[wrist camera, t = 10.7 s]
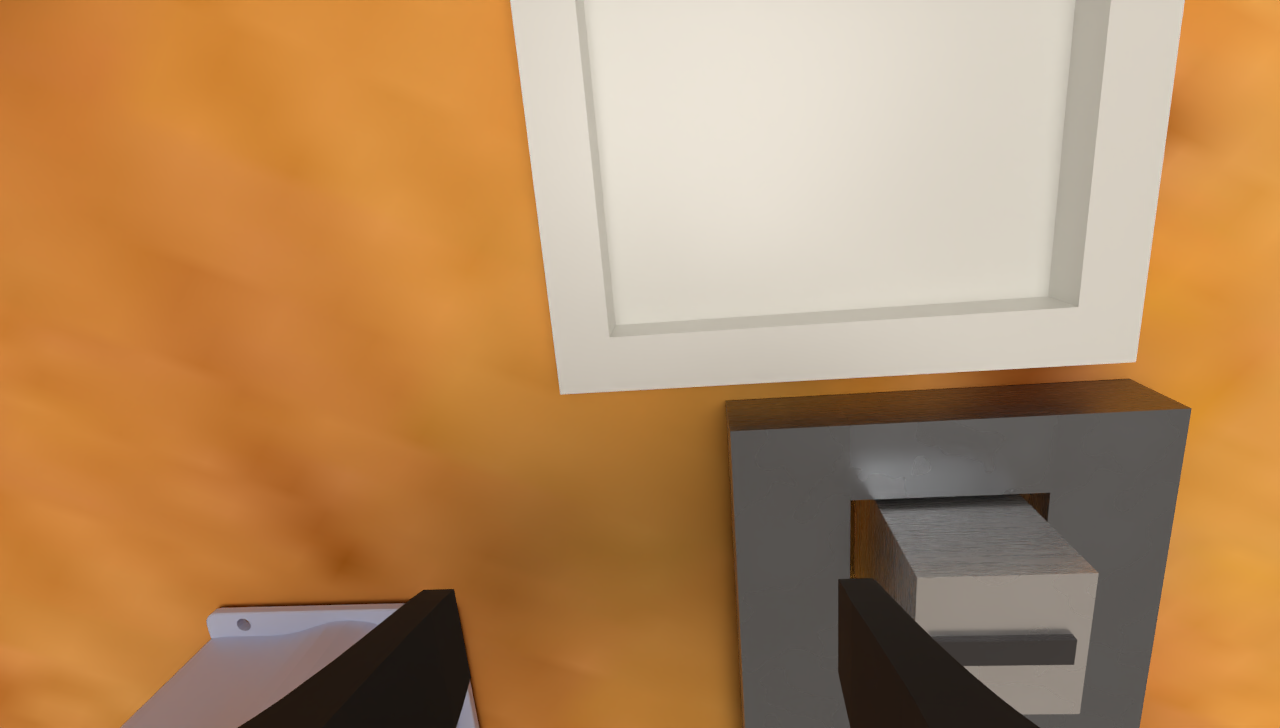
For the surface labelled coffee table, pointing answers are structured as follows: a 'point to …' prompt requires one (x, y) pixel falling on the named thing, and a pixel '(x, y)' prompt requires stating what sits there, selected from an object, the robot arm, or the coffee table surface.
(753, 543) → the metal frame
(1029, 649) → the block
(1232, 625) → the coffee table surface
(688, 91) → the white square tray
